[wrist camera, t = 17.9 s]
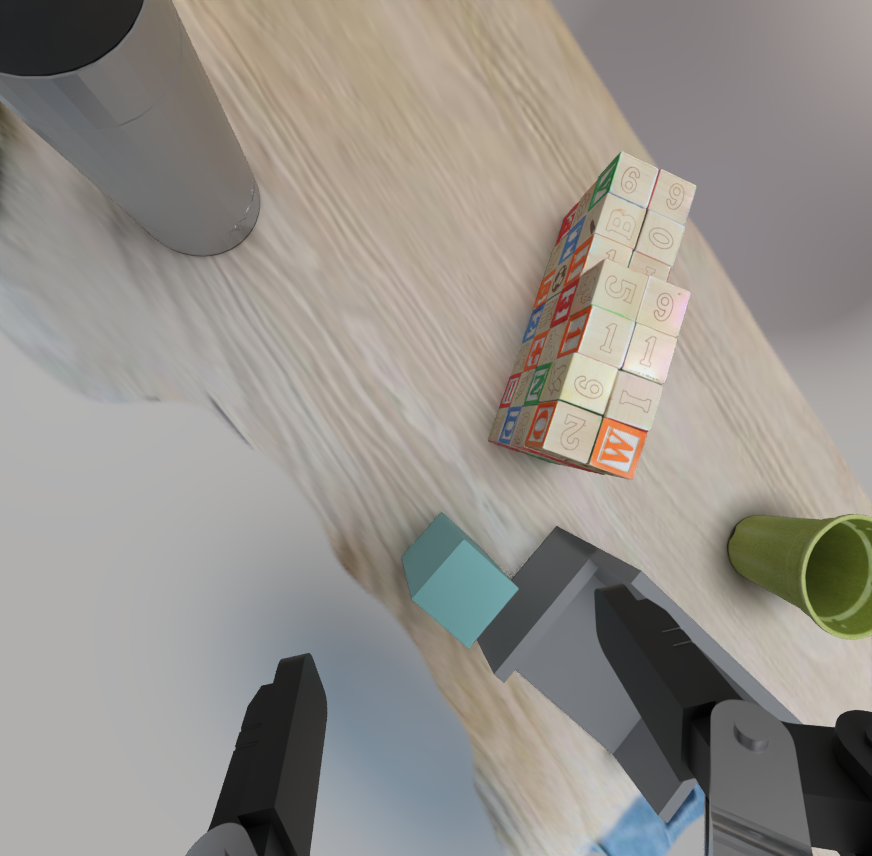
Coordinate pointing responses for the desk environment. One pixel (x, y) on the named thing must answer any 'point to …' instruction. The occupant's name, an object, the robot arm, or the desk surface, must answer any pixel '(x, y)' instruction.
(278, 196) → the desk surface
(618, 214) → the stack of blocks
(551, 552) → the grey open tray
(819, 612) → the plant pot
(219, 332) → the desk surface
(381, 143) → the desk surface
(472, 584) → the block
